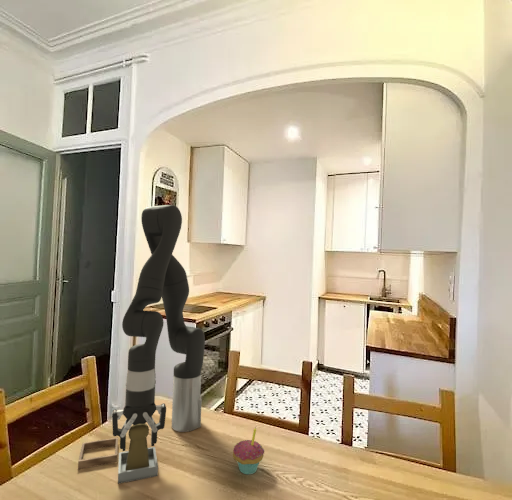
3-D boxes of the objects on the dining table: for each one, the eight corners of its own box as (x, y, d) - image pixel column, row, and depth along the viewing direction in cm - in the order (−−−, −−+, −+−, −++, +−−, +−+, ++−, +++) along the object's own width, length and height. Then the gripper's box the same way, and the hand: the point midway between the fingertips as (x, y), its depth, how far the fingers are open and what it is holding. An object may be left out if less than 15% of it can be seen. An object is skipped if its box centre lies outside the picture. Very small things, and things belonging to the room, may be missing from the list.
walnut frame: (117, 444, 102) (118, 437, 102) (116, 462, 93) (117, 454, 93) (82, 449, 98) (82, 442, 98) (77, 469, 89) (78, 461, 89)
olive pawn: (142, 475, 87) (143, 432, 87) (120, 472, 88) (122, 429, 88) (153, 461, 93) (154, 421, 93) (133, 458, 94) (134, 418, 94)
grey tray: (154, 455, 96) (155, 446, 96) (157, 476, 87) (158, 466, 88) (118, 461, 93) (118, 452, 93) (117, 483, 84) (118, 473, 84)
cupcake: (267, 464, 94) (268, 420, 94) (257, 482, 86) (258, 435, 86) (238, 457, 97) (240, 415, 97) (226, 474, 89) (228, 428, 89)
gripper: (166, 377, 97) (164, 435, 96) (112, 382, 92) (109, 444, 91) (169, 387, 90) (167, 450, 89) (111, 393, 85) (108, 460, 84)
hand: (138, 447), depth 90 cm, fingers open, 6 cm apart
